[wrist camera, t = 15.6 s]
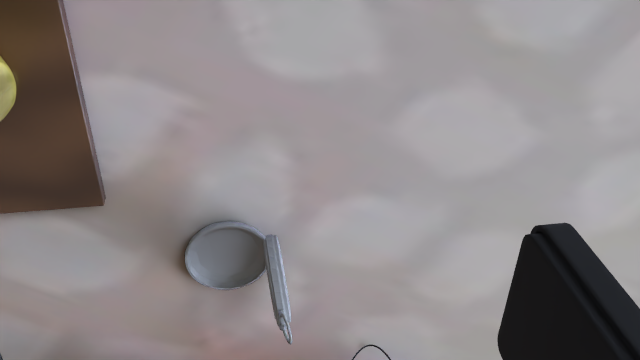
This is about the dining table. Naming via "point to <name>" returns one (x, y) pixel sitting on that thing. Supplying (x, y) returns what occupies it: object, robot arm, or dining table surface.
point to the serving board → (44, 115)
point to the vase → (6, 89)
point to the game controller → (374, 346)
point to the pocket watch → (240, 263)
